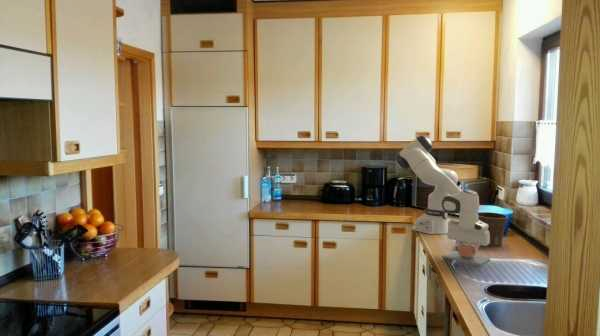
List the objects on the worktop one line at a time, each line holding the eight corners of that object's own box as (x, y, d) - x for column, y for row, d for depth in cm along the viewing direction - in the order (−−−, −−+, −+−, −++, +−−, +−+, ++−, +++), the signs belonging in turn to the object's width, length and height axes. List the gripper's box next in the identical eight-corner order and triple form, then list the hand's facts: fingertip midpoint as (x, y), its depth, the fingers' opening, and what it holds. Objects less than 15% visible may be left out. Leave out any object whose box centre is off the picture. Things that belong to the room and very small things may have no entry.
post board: (444, 258, 227) (444, 242, 226) (454, 253, 235) (455, 237, 234) (480, 266, 214) (481, 249, 213) (490, 260, 223) (491, 244, 222)
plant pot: (491, 238, 264) (492, 211, 262) (512, 245, 249) (514, 216, 247) (468, 241, 258) (469, 213, 257) (489, 248, 243) (490, 219, 241)
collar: (458, 255, 225) (459, 245, 224) (463, 252, 229) (464, 242, 228) (470, 257, 220) (471, 247, 220) (475, 254, 225) (476, 245, 224)
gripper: (445, 220, 228) (444, 247, 229) (486, 227, 214) (485, 256, 215) (451, 218, 232) (450, 245, 234) (491, 225, 218) (490, 253, 220)
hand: (467, 250), depth 224 cm, fingers open, 6 cm apart
